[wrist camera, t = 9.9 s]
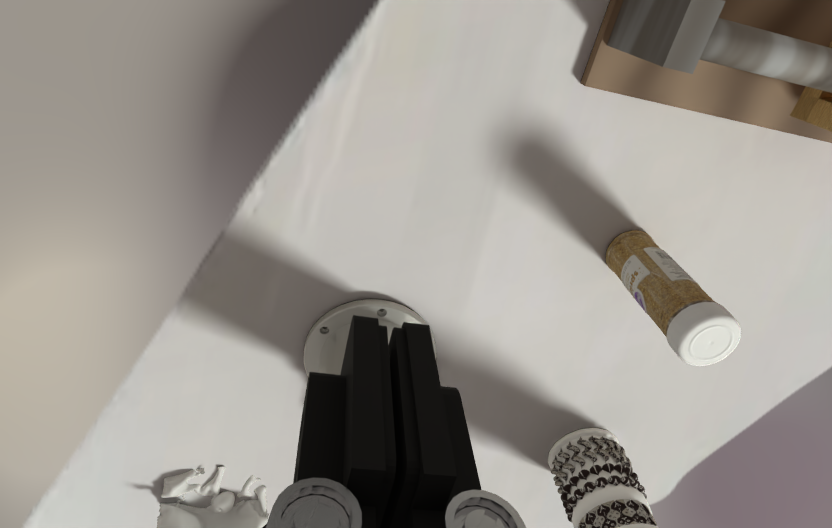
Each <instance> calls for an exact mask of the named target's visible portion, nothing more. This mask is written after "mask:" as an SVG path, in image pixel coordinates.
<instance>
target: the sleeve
mask: <svg viewBox="0 0 832 528" xmlns="http://www.w3.org/2000/svg"><path fill="white" fill-rule="evenodd" d="M828 47H829V48H832V40H831V42H830V44H829V46H828ZM790 116H792V117H794V118H797V119H800V120H802V121H805V122H807V123H810V124H813V125H815V126H818V127H820V128H823V129H826V130H828V131H831V132H832V93H830V92H826V91H822V90H818V89H815V88H811V87H807V86H806V87H805V89H804V91H803V92H802V94H801V96H800V98H799V100H798V101H797V103H796V105H795V107H794V109H793V110H792V112H791V114H790Z"/></svg>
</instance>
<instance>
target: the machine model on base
mask: <svg viewBox="0 0 832 528" xmlns="http://www.w3.org/2000/svg"><path fill="white" fill-rule="evenodd" d="M831 40H832V0H610V2H609V5H608V8H607V11H606V13H605V16H604V19H603V22H602V24H601V27H600V30H599V33H598V35H597V38H596V41H595V44H594V47H593V49H592V52H591V55H590V58H589V60H588V63H587V66H586V69H585V72H584V74H583V77H582V80H581V84H583V85H584V86H588V87H592V88H596V89H601V90H605V91H609V92H614V93H618V94H622V95H627V96H631V97H635V98H640V99H644V100H648V101H653V102H657V103H661V104H666V105H670V106H674V107H679V108H683V109H687V110H692V111H696V112H700V113H705V114H709V115H713V116H718V117H722V118H726V119H731V120H735V121H739V122H744V123H748V124H752V125H756V126H761V127H765V128H769V129H774V130H778V131H782V132H787V133H791V134H795V135H800V136H804V137H808V138H813V139H817V140H821V141H826V142H830V143H832V132H831V131H828V130H826V129H823V128H820V127H818V126H815V125H813V124H810V123H807V122H805V121H802V120H800V119H797V118H794V117H792V116H790V114H791V112H792V110H793V109H794V107H795V105H796V103H797V101H798V100H799V98H800V96H801V94H802V92H803V91H804V89H805V87H806V86H807V87H811V88H815V89H818V90H822V91H826V92H830V93H832V48H829V47H828V46H829V44H830V42H831Z"/></svg>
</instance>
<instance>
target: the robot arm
mask: <svg viewBox="0 0 832 528" xmlns="http://www.w3.org/2000/svg"><path fill="white" fill-rule="evenodd" d="M436 358H437V355H436V345H435V340H434V336H433V334H432V332H431V330H430V327H429V325H427V324H426V322H425V321H424V320H423V319H422V318H421V317H420V316H419V315H418V314H416V313H415V312H414V311H412V310H410V309H409V308H407V307H405V306H403V305H400V304H397V303H394V302H390V301H385V300H373V299H366V300H359V301H353V302H349V303H346V304H343V305H340V306H338V307H336V308H334V309H332V310H330V311H329V312H328V313H326V314H325V315H324V316H322V317H321V318H320V319H319V320H318V321H317V322H316V323H315V325H314V326H313V327H312V329H311V330H310V332H309V334H308V336H307V339H306V342H305V346H304V355H303V359H304V367H305V370H306V373H307V376H308V383H307V389H306V395H305V401H304V407H303V414H302V420H301V427H300V435H299V442H298V450H297V458H296V466H295V474H294V482H293V484H292V485H290V486H288V487H287V488H286V489H285V490H284V491H283V492H282V493H281V494H280V495H279V496H278V498H277V500H276V502H275V503H274V505H273V507H272V510H271V513H270V516H269V519H268V522H267V524H266V525H265V526H264V527H262V528H526V526H525V524H524V522H523V520H522V519H521V517H520V515H519V514H518V512H517V511H516V510H515V509H514V508H513V507H512V506H511V505H510V504H509V503H508V502H507V501H505V500H504V499H502V498H501V497H499V496H498V495H496V494H493V493H490V492H487V491H484V490H481V486H480V481H479V477H478V473H477V468H476V464H475V459H474V455H473V450H472V446H471V441H470V437H469V432H468V428H467V424H466V419H465V415H464V410H463V406H462V401H461V397H460V394H459V391H458V390H457V388H451V387H442V386H440V381H439V375H438V370H437V364H436Z"/></svg>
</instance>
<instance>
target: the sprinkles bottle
mask: <svg viewBox="0 0 832 528" xmlns="http://www.w3.org/2000/svg"><path fill="white" fill-rule="evenodd" d="M606 263H607V265H608V267H609V268H610V269H611V270H612V271H613V272H615V274H616V275H617V276H618V277H619V279H620V280H621V281H622V283H623V284H624V286H625V287H626V288H627V290H628V291H629V292H630V293H631V295H632V296H633V297H634V298H635V300H636V301H637V302H638V303H639V305H640V306H641V307H642V308H643V310H644V311H645V312H646V313H647V314H648V315H649V316H650V317H651V319H652V320H653V321H654V322H655V323H656V325H657V326H658V327H659V328H660V329H661V331H662V332H663V333H664V334H665V336H666V337H667V341H668V343H669V345H670V346H671V348H672V349H673V350H674V352H675V353H676V354H677V355H678V356H679V357H680V359H681V360H683V361H684V362H685V363H687V364H690V365H693V366H706V365H710V364H714V363H716V362H718V361H720V360H722V359H724V358H725V357H727V356H728V355H729V354H730V353H731V352H732V351H733V350H734V349H735V348H736V346H737V345H738V343H739V340H740V337H741V327H740V325H739V323H738V321H737V320H736V319H735V318H734V317H733V316H732V315H731V314H730V313H729V312H728V311H727V310H726V309H725V308H724V307H723V306H722V305H720V304H718V303H716V302H715V301H713V300H712V299H711V298H710V297H709V296H708V295H707V294H706V293H705V292H704V291H703V290H702V289H701V287H700V286H699V285H698V283H697V282H695V281H694V280H693V279H692V278H691V277H690V276H689V275H688V274H687V273H686V272H685V271H684V270H683V269H682V268H681V267H680V266H679V265H678V264H677V263H676V262H675V261H674V260H673V259H672V258H671V257H670V256H669V255H668V254H667V253H666V252H665V251H664V250H662V249H660V248H659V247H658V246H657V245H656V244H655V243H654V241H653V239H652V238H651V237H650V236H649V235H648V234H647V233H645V232H642V231H629V232H625V233H622V234H620V235H619V236H618V237H616V238H615V239H614V240H613V241H612V243H611V244H610V245H609V247H608V249H607V252H606Z"/></svg>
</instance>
